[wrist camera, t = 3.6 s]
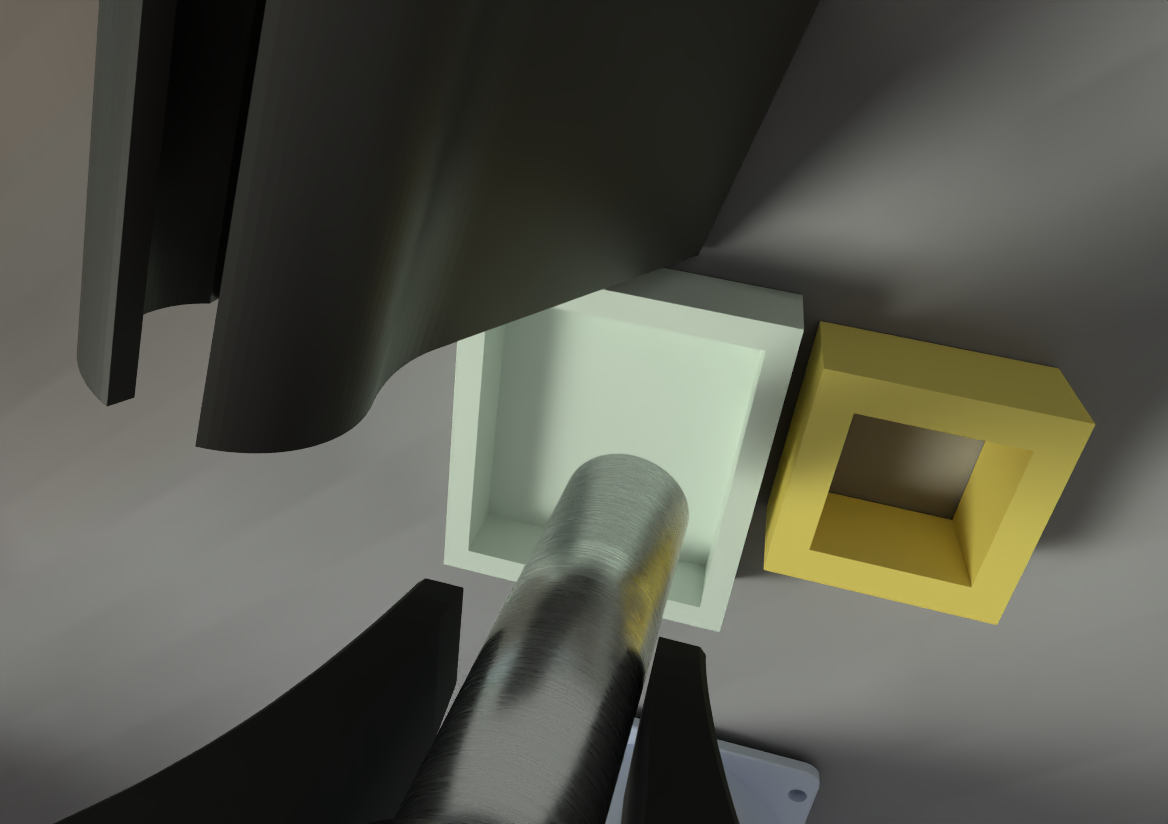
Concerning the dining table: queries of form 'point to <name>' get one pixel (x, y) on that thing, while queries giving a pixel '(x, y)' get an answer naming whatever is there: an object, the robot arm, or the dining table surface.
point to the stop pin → (561, 660)
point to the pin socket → (906, 538)
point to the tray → (623, 418)
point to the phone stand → (396, 178)
